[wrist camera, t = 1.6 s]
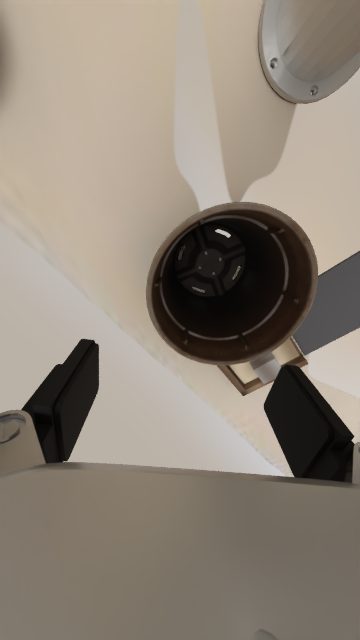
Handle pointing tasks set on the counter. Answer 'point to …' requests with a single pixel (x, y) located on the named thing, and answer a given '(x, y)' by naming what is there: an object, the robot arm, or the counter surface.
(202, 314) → the plant pot
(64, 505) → the robot arm
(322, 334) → the black mat
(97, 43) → the counter surface
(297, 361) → the walnut box
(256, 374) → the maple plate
